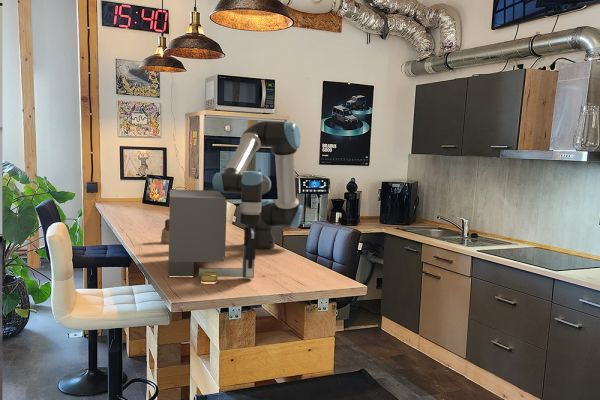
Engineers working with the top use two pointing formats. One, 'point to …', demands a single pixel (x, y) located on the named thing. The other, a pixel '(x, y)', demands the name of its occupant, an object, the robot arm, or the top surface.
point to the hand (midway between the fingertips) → (248, 274)
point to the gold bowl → (209, 277)
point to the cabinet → (195, 229)
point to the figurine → (165, 233)
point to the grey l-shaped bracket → (229, 269)
